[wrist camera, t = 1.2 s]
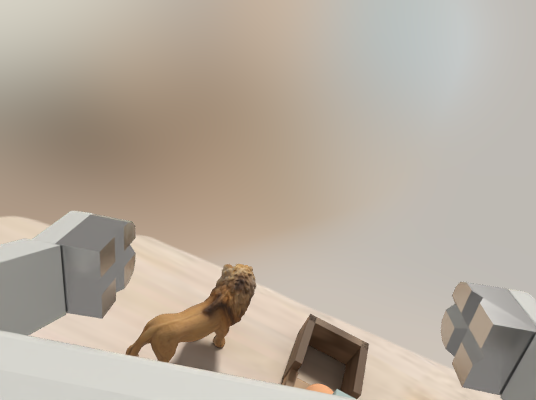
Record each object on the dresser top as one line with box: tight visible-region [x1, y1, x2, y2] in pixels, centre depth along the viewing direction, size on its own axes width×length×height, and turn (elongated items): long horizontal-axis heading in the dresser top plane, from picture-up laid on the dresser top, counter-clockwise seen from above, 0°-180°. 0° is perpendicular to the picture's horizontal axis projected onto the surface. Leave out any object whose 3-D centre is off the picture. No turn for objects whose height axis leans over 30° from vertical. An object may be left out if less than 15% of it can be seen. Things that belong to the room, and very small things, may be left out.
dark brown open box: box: [282, 314, 369, 399], centre depth 41 cm, size 7×6×4 cm
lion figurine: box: [125, 264, 256, 363], centre depth 37 cm, size 15×5×9 cm, turn 136°
